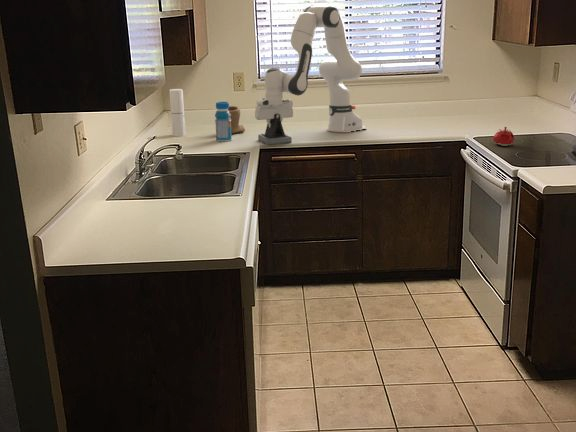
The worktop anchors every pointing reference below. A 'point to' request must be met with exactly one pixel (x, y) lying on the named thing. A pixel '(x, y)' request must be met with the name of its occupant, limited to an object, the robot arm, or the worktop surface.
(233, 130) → the tan boot
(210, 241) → the worktop surface
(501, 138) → the pomegranate
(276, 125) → the door stopper
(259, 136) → the tray
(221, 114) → the beverage bottle
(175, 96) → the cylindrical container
